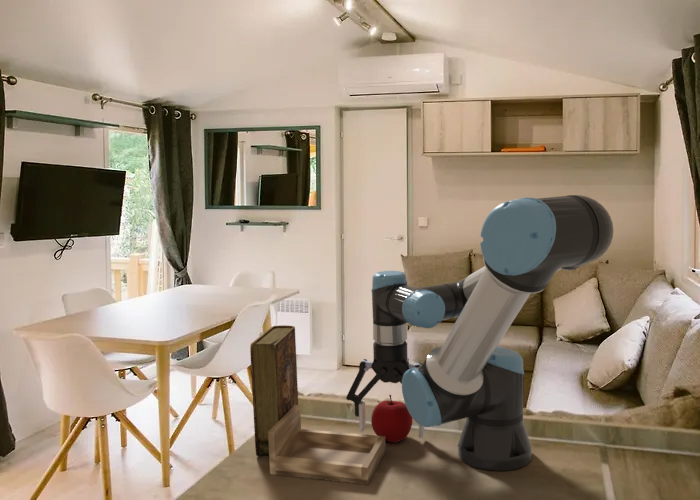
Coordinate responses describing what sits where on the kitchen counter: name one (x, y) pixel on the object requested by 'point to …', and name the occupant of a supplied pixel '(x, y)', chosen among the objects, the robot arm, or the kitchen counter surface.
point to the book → (272, 380)
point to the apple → (391, 420)
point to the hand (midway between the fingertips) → (391, 432)
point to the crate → (322, 452)
